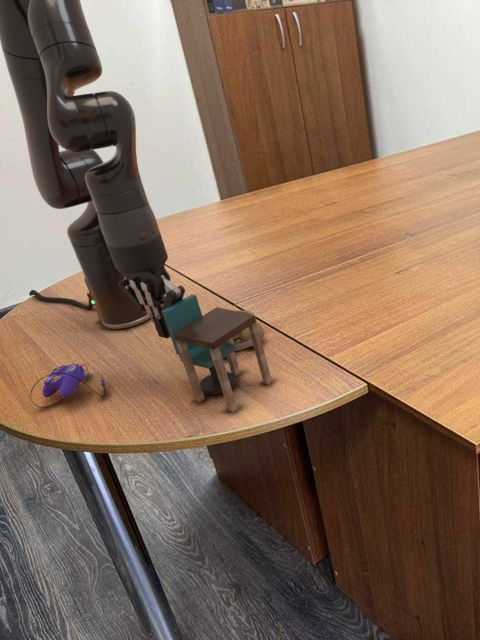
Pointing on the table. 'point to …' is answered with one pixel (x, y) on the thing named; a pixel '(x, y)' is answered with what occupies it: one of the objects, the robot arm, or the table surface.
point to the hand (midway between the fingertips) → (167, 335)
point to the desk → (211, 335)
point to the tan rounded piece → (245, 336)
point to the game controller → (65, 381)
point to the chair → (200, 356)
